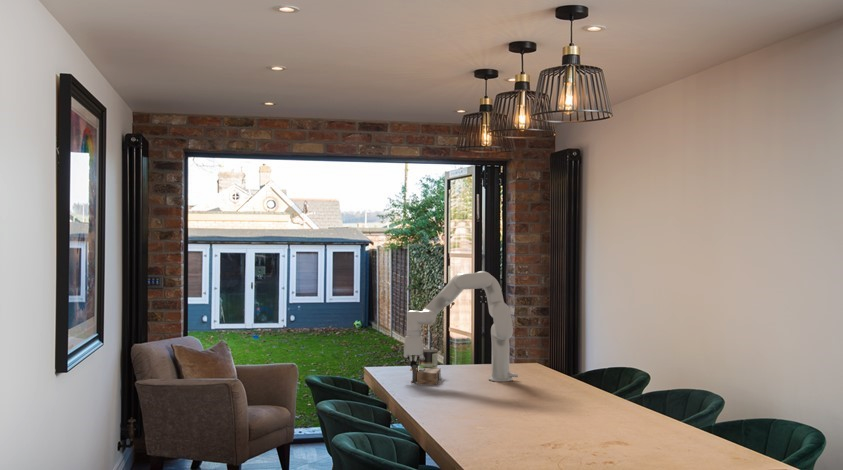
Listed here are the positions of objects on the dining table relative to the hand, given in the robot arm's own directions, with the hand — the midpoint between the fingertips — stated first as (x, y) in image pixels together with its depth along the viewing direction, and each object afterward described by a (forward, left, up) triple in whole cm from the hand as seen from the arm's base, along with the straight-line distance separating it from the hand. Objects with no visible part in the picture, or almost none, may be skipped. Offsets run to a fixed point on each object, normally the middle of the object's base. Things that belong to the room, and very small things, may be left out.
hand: (413, 368), depth 419 cm
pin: (-8, 0, -6) cm, 10 cm away
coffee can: (-5, -19, -7) cm, 21 cm away
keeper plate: (0, 0, -6) cm, 6 cm away
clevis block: (-6, 0, -7) cm, 9 cm away
